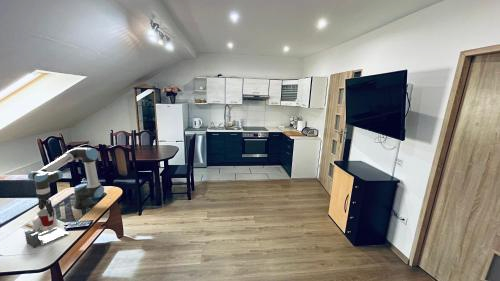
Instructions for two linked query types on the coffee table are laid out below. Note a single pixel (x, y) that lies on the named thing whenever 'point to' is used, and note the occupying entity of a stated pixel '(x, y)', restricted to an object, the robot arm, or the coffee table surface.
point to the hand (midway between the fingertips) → (47, 218)
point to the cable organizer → (38, 223)
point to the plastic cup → (45, 217)
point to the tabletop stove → (43, 236)
